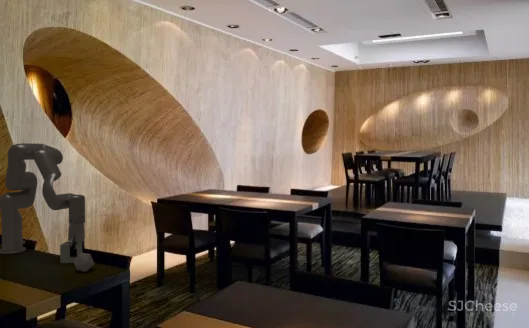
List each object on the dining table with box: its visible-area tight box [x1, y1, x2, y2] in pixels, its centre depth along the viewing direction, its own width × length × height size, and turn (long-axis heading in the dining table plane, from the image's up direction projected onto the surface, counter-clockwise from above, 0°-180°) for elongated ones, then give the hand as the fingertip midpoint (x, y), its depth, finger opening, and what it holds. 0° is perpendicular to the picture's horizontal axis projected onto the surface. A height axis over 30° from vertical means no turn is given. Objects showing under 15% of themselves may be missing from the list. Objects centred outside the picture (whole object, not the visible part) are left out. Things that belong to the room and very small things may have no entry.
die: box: [73, 252, 95, 273], centre depth 203 cm, size 8×9×10 cm
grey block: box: [59, 241, 83, 264], centre depth 218 cm, size 8×8×9 cm
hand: (77, 254), depth 218 cm, fingers open, 9 cm apart
